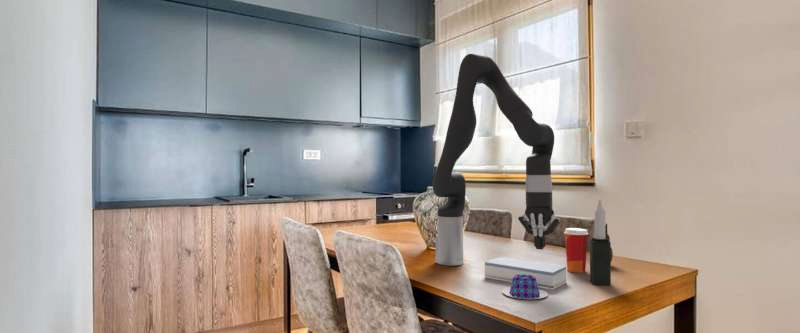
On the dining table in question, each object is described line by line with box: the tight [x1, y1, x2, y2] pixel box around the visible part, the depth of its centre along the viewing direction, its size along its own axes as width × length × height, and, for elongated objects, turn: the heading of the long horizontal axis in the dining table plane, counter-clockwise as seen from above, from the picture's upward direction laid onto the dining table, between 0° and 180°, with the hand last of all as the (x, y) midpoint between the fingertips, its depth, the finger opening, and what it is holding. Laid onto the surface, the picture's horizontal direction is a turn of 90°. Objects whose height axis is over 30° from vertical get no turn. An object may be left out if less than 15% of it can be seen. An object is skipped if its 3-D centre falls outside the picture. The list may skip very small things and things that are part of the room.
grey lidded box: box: [484, 264, 567, 291], centre depth 137 cm, size 22×10×4 cm, turn 49°
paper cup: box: [563, 227, 589, 274], centre depth 149 cm, size 8×8×14 cm
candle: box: [589, 199, 612, 287], centre depth 133 cm, size 5×5×25 cm
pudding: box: [502, 274, 548, 300], centre depth 122 cm, size 12×12×5 cm
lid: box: [484, 256, 567, 275], centre depth 137 cm, size 22×10×1 cm, turn 49°
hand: (539, 248), depth 131 cm, fingers closed
